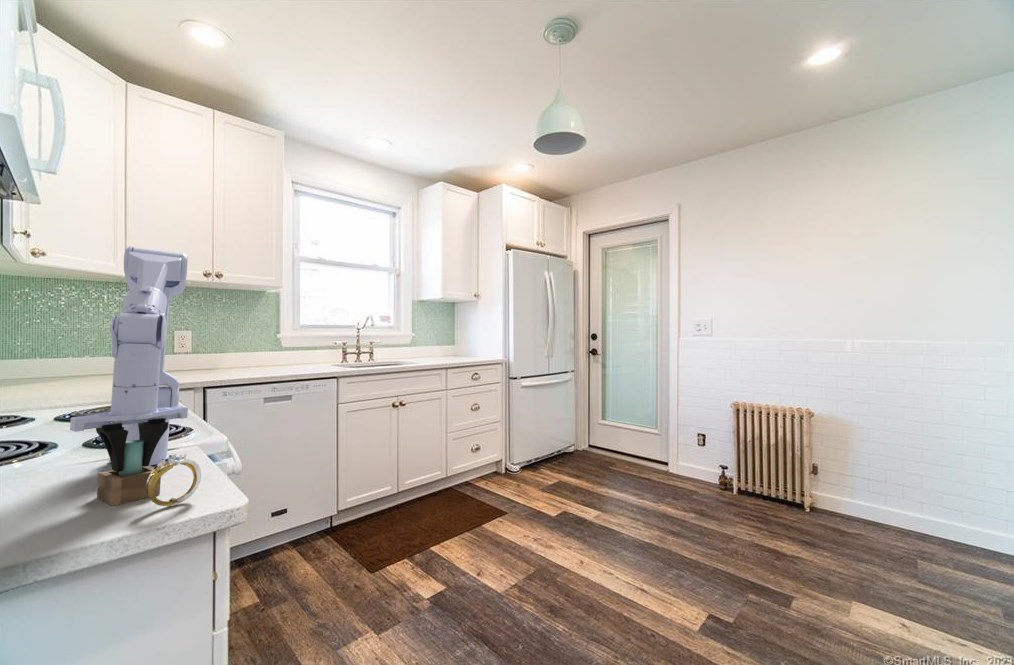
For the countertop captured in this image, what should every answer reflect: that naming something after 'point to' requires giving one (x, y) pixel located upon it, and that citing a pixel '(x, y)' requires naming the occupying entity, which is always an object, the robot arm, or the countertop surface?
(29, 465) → the countertop surface
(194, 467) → the ring
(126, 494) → the bead block
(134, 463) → the teal cylinder
